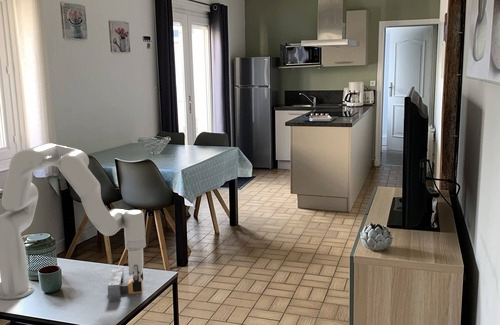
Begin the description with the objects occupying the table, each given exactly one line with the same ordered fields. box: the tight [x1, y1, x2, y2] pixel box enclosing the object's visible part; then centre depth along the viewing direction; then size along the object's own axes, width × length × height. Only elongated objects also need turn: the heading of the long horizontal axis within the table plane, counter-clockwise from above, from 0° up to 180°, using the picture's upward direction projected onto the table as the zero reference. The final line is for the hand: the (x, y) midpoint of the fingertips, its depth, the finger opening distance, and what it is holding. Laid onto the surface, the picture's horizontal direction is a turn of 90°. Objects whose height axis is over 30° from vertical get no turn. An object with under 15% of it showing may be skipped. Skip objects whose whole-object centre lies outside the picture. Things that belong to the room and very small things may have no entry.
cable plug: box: [107, 278, 144, 296], centre depth 190 cm, size 12×4×4 cm, turn 99°
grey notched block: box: [107, 267, 126, 303], centre depth 189 cm, size 4×16×6 cm, turn 9°
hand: (138, 285), depth 191 cm, fingers open, 9 cm apart
